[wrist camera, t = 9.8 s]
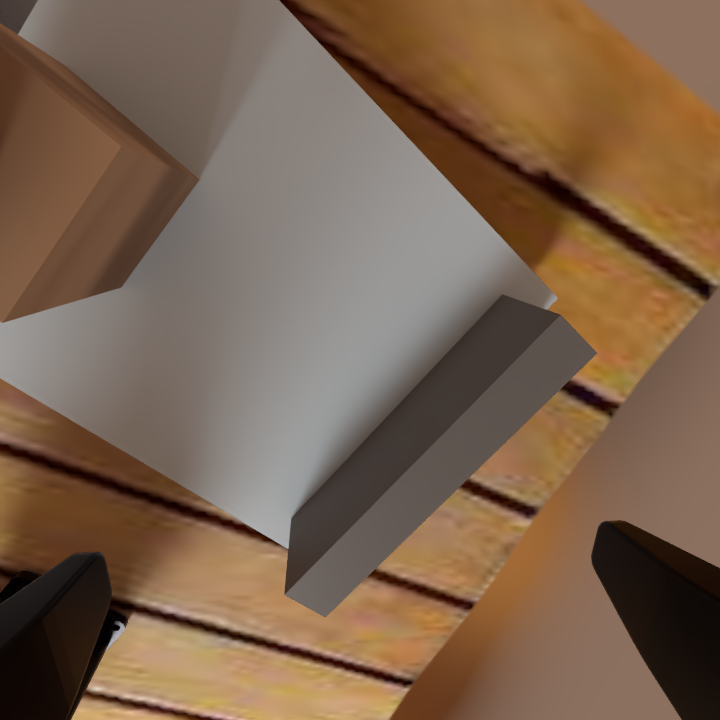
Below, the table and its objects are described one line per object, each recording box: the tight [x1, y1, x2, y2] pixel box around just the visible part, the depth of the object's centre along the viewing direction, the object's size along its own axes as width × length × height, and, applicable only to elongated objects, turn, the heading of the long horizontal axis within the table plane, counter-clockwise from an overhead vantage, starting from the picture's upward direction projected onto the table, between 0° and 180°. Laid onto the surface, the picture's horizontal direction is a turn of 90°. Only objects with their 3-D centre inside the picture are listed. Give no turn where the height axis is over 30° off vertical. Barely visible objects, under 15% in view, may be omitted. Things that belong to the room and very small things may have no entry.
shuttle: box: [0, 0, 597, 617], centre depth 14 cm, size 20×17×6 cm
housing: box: [0, 23, 199, 323], centre depth 10 cm, size 5×5×8 cm
